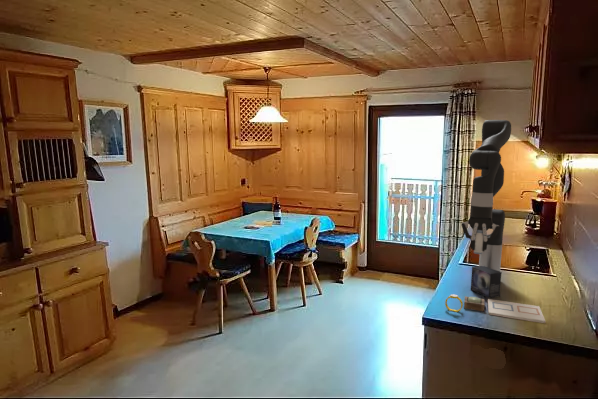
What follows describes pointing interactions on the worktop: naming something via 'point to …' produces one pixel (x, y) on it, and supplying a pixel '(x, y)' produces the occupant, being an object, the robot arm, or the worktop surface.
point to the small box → (486, 281)
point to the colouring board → (515, 310)
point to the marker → (479, 242)
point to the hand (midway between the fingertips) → (478, 250)
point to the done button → (474, 299)
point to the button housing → (474, 305)
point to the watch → (453, 297)
